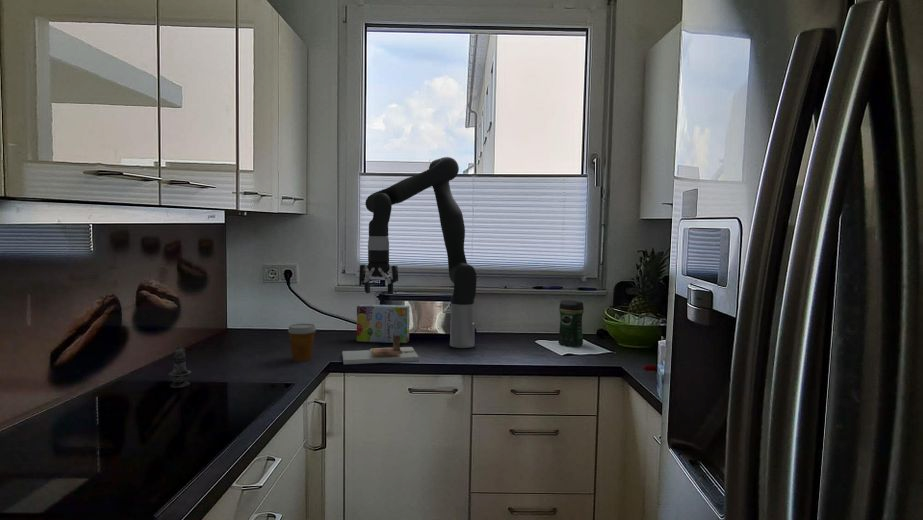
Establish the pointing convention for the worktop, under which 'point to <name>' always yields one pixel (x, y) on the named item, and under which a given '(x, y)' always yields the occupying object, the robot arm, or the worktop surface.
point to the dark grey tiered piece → (179, 369)
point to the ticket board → (378, 356)
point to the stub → (390, 351)
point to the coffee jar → (571, 323)
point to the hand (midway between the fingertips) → (378, 293)
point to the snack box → (382, 323)
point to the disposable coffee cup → (301, 341)
